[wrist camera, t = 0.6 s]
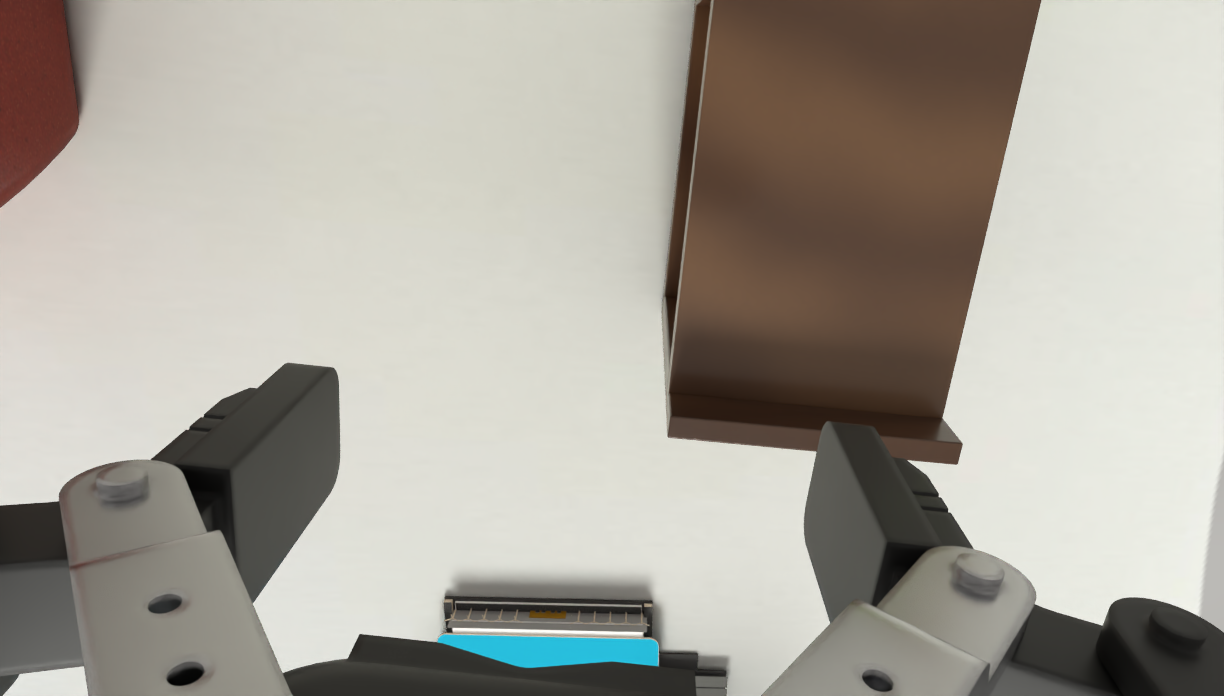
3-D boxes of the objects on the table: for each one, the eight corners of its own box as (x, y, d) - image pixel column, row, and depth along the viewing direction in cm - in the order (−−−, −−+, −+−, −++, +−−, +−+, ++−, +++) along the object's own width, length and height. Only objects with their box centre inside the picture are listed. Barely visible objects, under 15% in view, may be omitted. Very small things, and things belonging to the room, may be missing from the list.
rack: (697, -24, 35) (726, -70, 22) (921, -5, 35) (1083, -39, 22) (661, 312, 40) (667, 438, 27) (856, 331, 40) (958, 465, 27)
